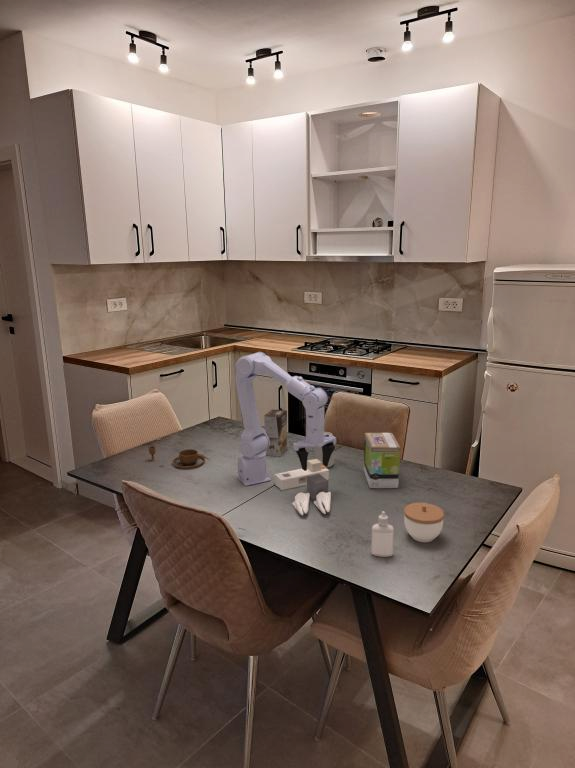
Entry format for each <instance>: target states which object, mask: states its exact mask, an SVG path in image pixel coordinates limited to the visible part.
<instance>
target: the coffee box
mask: <svg viewBox="0 0 575 768" xmlns="http://www.w3.org/2000/svg"><path fill="white" fill-rule="evenodd" d="M263 417H264V419H263V420H264V429H265V430H266V434H267V436H268V438H269V440H270V446H269V448H268V449H267V453H266V456H269V457H270V456H271V457H281V456H282V455H283V454H284V453H285V452H286V451H287V450H288V410H287V409H286V410H285V409H274V408H273V409H271V410H270V411H268V412H267V413H265V414H264V416H263Z"/></svg>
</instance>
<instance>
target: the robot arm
mask: <svg viewBox="0 0 575 768" xmlns="http://www.w3.org/2000/svg"><path fill="white" fill-rule="evenodd" d="M234 364H235V365H234V366H235V370H236V371H235V378H234V379H235V380H234V381H235V386H236V390H237V392H236V393H237V397H238V402H239V406H240V412H241V417H242V423H243V428H244V430H243V431H242V433H241V435H240V445H239V449H240V452H241V454H242V455H243V456H241V457H238V458H237V479H238V480H240V481H239V482H241V483H242V484H243V485H244V486H246V487H247V486H252V485H256V484H261V483H266V482H269V481H271V480H272V479H271V478H270V477H269V476H268V475H267V455H266V453H267V449H268V448H269V446H270V440H269V438H268V436H267V434H266V430H265V427H262V426H261V423H260V418H259V410H258V406H257V402H256V395H255V390H254V384H253V382H254V380H255V379H256V378H257V376H258V375H264V374H265V375H267V376H269V377H271V378H273V379H274V380H276V381H278V382H279V383H281V385H282V384H283V386H285V390H286V392H288V393H290V395H292V396H294V397H295V398H297V399H298V400H299V401H301V402H302V405H303V407H304V409H305V439H302V440H299V441H297V442H293V444H292V446H293V448H292V449H293V450H294V452H296V455H297V456H298V458H299V462H300V465H301V466H300V467H301V469H303V470H304V471H307V461H308V457H309V452H308V451H307V449H310V448H314V447H315V446H318V447H321V446H322V453H323V465H324V466H326V467H327V466H328V463H329V459H330V457H331V454H332V453H333V451H334V452H335V450H336V446H335V444H337V437H336V436H334V435H333V436H330V437H324V432H325V405H326V404H327V403H328V400H329V398H328V394H327V392H326V391H325V390H324V389H323V388H322V387H315V386H314V385H311V384H310V383H308V382H307V381H305V380H303V379H304V378H303V377H302V376H301V375H300V376H298V375H294V376H291V375H290V374H289V373H288V372H287V371H285V370H284V369H282V368H281V367H280V366H279V365H278V364H276V363H275V362H274V361H273V360H272V359H271V357H270V356H269V355H266V354H265V353H264V352H262V351H258V352H257V351H256V352H255V353H251V354H248V355H244V356H240V358H238V360H237V361H236V362H235V363H234ZM333 444H334V445H333Z"/></svg>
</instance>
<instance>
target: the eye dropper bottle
mask: <svg viewBox="0 0 575 768" xmlns="http://www.w3.org/2000/svg"><path fill="white" fill-rule="evenodd" d="M377 520H378V521H377V522H378V523H375V524H373V525H372V527H371V546H370V548H371V549H370V551H371V552H370V553H371V555H373V556H375V557H381V558H387V557H392V556H393V555H394V538H395V537H394V535H395V533H394V532H395V529H394V526H393V525H391V524H389V517H388V515H386V512H385V511H381V514H379V515H378V519H377Z"/></svg>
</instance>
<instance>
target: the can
mask: <svg viewBox="0 0 575 768" xmlns="http://www.w3.org/2000/svg"><path fill="white" fill-rule="evenodd" d="M330 436H334V435H333V433H332V432H328V431H324V437H330ZM333 445H335V444H333ZM313 459H317V460H319V461H320V462H321V465H323V453H322V446H321V447H318V446H315V447H313ZM334 464H335V450H334V451H333V453H332V454H331V457H330V459H329V463H328V466H327V467H326V466H325V468H327V469H330V468H331V467H332V466H333V465H334ZM323 466H324V465H323Z"/></svg>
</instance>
